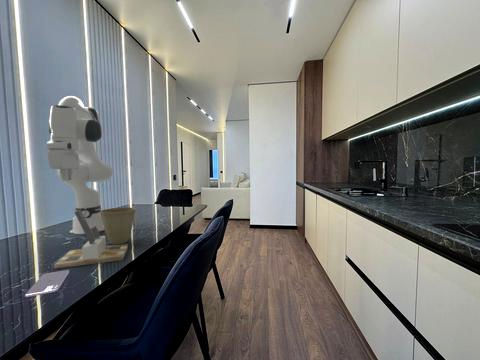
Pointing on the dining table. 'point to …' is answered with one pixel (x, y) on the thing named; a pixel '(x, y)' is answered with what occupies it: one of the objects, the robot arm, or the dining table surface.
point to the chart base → (77, 259)
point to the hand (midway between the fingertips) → (67, 180)
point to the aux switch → (95, 232)
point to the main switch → (85, 226)
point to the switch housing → (94, 248)
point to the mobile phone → (47, 283)
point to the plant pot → (118, 224)
